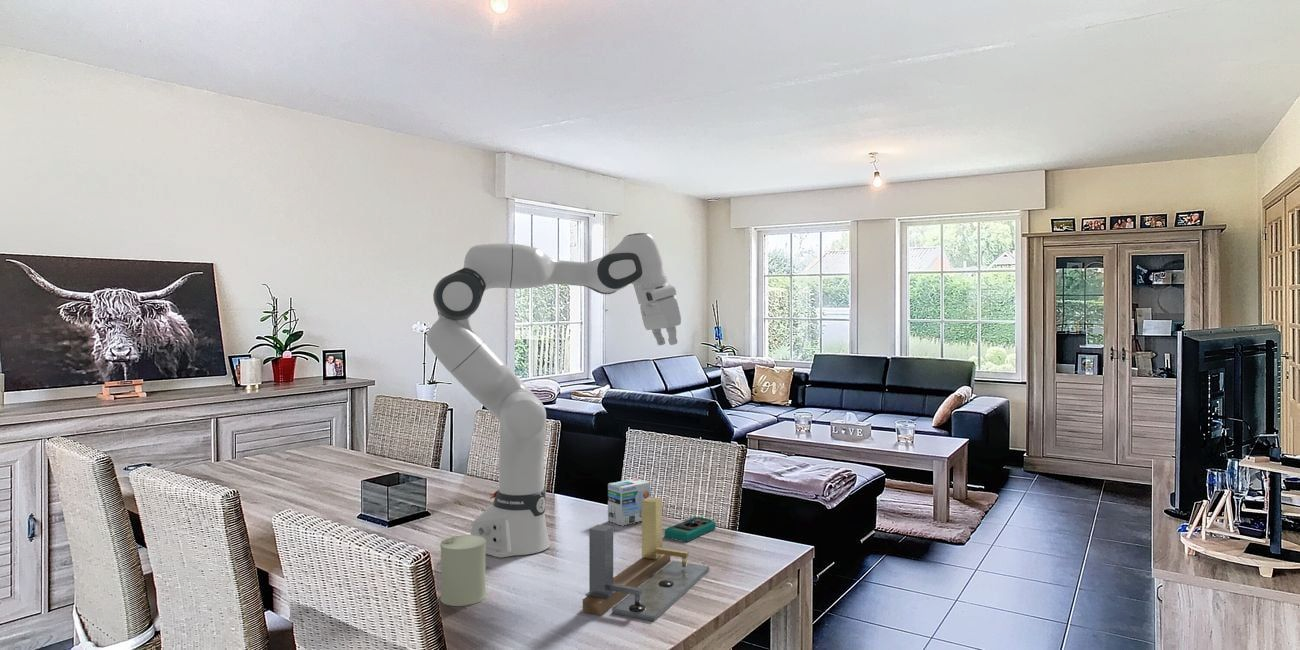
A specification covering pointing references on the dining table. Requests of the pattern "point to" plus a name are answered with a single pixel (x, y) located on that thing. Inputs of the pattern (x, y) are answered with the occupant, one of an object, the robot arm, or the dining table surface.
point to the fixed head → (604, 566)
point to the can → (463, 570)
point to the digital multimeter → (690, 529)
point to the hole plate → (661, 591)
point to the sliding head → (655, 532)
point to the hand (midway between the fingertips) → (667, 344)
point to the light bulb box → (627, 500)
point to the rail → (626, 583)
